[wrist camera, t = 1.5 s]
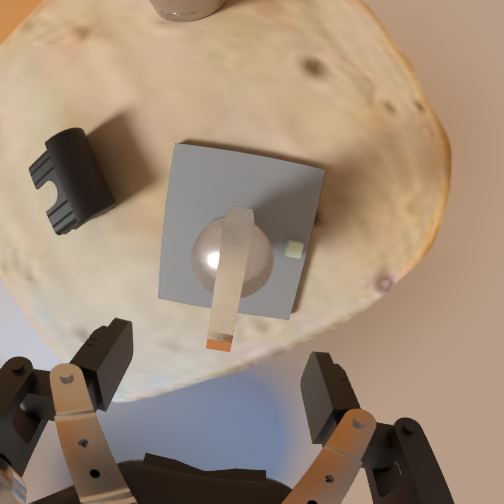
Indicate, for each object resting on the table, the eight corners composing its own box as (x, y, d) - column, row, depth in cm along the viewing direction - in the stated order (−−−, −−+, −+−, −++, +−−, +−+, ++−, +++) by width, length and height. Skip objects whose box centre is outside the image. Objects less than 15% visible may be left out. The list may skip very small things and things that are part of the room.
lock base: (177, 143, 28) (161, 139, 22) (322, 169, 29) (340, 171, 23) (160, 294, 34) (145, 319, 28) (287, 314, 35) (294, 343, 29)
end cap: (127, 200, 30) (100, 210, 24) (85, 227, 31) (55, 242, 24) (94, 128, 27) (63, 124, 21) (56, 160, 28) (22, 163, 22)
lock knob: (202, 196, 24) (185, 210, 17) (280, 210, 24) (294, 229, 17) (189, 299, 27) (173, 342, 20) (259, 310, 27) (262, 356, 20)
